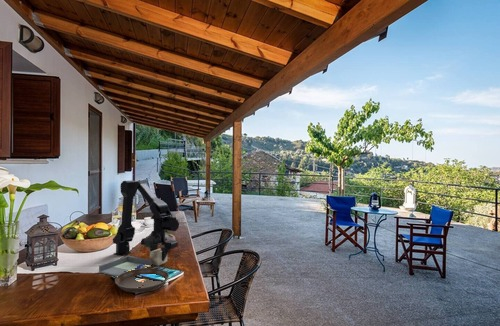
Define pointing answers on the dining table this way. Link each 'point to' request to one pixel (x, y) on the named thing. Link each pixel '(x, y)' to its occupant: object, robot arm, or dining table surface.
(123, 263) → the corner arena
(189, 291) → the dining table surface
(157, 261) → the birch block
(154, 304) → the dining table surface
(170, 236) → the decorative fruit
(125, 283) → the plant saucer
